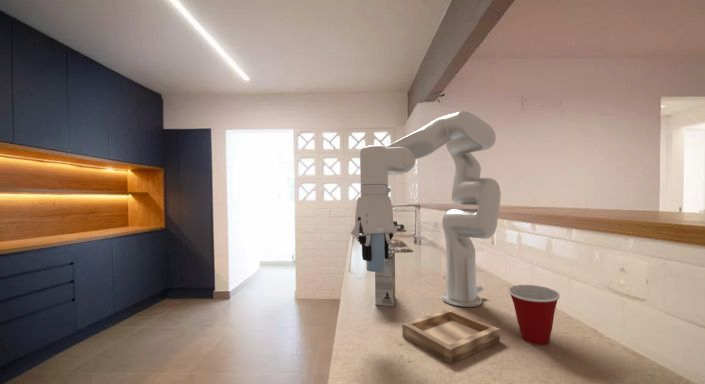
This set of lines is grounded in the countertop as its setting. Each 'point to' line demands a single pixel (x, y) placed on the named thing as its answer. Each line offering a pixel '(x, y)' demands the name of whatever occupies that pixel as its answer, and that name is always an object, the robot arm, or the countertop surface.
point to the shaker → (377, 251)
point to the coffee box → (386, 283)
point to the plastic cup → (534, 311)
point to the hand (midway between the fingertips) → (375, 258)
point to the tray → (450, 335)
